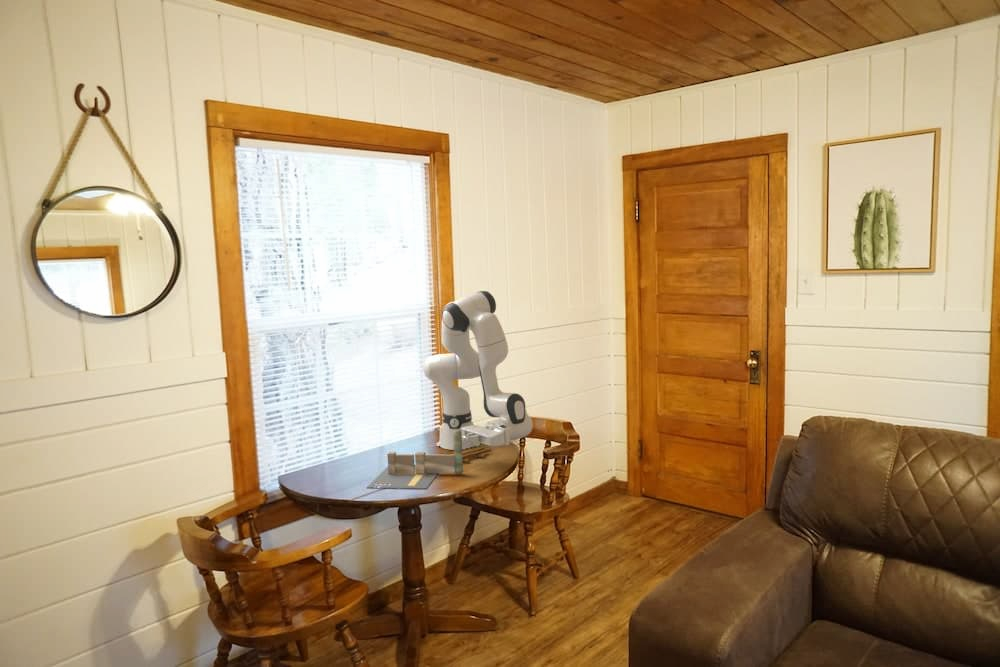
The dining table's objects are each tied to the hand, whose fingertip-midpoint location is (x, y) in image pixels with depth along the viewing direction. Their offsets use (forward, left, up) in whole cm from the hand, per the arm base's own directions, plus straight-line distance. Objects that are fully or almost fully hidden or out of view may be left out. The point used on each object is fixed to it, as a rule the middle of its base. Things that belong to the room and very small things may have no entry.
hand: (464, 439), depth 240 cm
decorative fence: (-16, -4, -12) cm, 21 cm away
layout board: (+5, -21, -12) cm, 25 cm away
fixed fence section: (+2, -23, -12) cm, 26 cm away
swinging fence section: (+2, -9, -12) cm, 15 cm away
